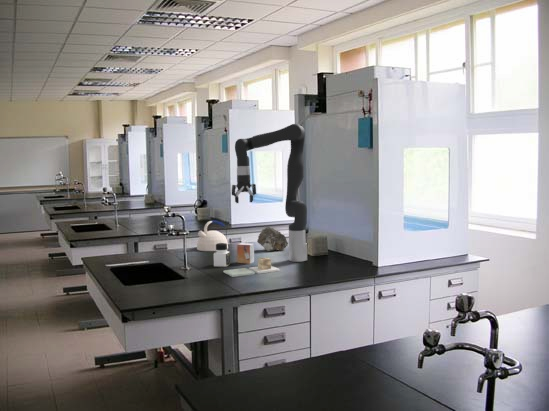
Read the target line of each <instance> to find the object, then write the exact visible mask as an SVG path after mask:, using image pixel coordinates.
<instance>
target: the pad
mask: <svg viewBox="0 0 549 411" xmlns="http://www.w3.org/2000/svg"><path fill="white" fill-rule="evenodd" d="M248 269H249V270H251V271H253V272H255V274H266V273H268V274H269V273H275V272H280V271H281V269H280V268H278V267H275V266H273V265H271V269H264V270H262V269H259V268H258V266H252V267H248Z"/></svg>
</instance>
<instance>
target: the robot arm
mask: <svg viewBox="0 0 549 411" xmlns="http://www.w3.org/2000/svg"><path fill="white" fill-rule="evenodd" d="M305 138H306V130H305V128H304V127H303V126H302V125H301V124H298V123H293V124H290V125H288V126H285V127H283V128H281V129H277V130H274V131H270V132H265V133H261V134H256V135H254V136H252V137H247V138H238V139H237V140H236V141H235V142H234V143H235V144H234V150H235V151H234V152H235V156H236V184H231V196H233V197H234V202H235V203H236V204H239V195H240V194H241V193H248V194H249V203H253V201H254V196H255V195H257V187H256V186H257V185H256V183H251V167H250V157H249V156H248V151H251V150H254V149H260V148H264V147H268V146H271V145H273V144H275V143H279V142H284V141H290V152H289V157H288V161H287V166H286V167H287V168H286V178H287V179H286V180H287V181H286V197H285V198H286V199H285V205H284V206H285V210H284V211H285V214H286V216H287V217H288V218H294V220H293V221H294V222H292V223H290V224H288V260H289V262H292V263H293V262H294V263H296V262H297V263H302V262H305V261H308V243H307V242H306V226H307V218H308V208H307V203H305V202H304V201H302V200H301V201H300V200H297V199H298V198H297V197H298V191H299V189H300V186H301V185H302V182H303V181H304V177H305V157H304V156H305V155H304V154H305V153H304V147H305Z"/></svg>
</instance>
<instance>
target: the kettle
mask: <svg viewBox="0 0 549 411" xmlns="http://www.w3.org/2000/svg"><path fill="white" fill-rule="evenodd" d="M210 224H217V225H220V226H221V227H222V228H223V227H226V224H224V223H222V222H221V221H218V220H209V221H207V222H206V223H205V225H204V227H203V230H198V233H197V235H198V236H199V237H198V240H197V242H196V250H197V251H201V252H217V251H216V244H218V243H226V244H227V250H228V249H229V245H228V239H227V237H226V236H225V235H224V233H221V230H220V229H219V230H208V227H209V225H210Z"/></svg>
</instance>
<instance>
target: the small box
mask: <svg viewBox="0 0 549 411" xmlns="http://www.w3.org/2000/svg"><path fill="white" fill-rule="evenodd" d="M236 263H237V264H248V265H251V264H253V263H255V243H247V242H246V243H244V242H241V243H237V244H236Z"/></svg>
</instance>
